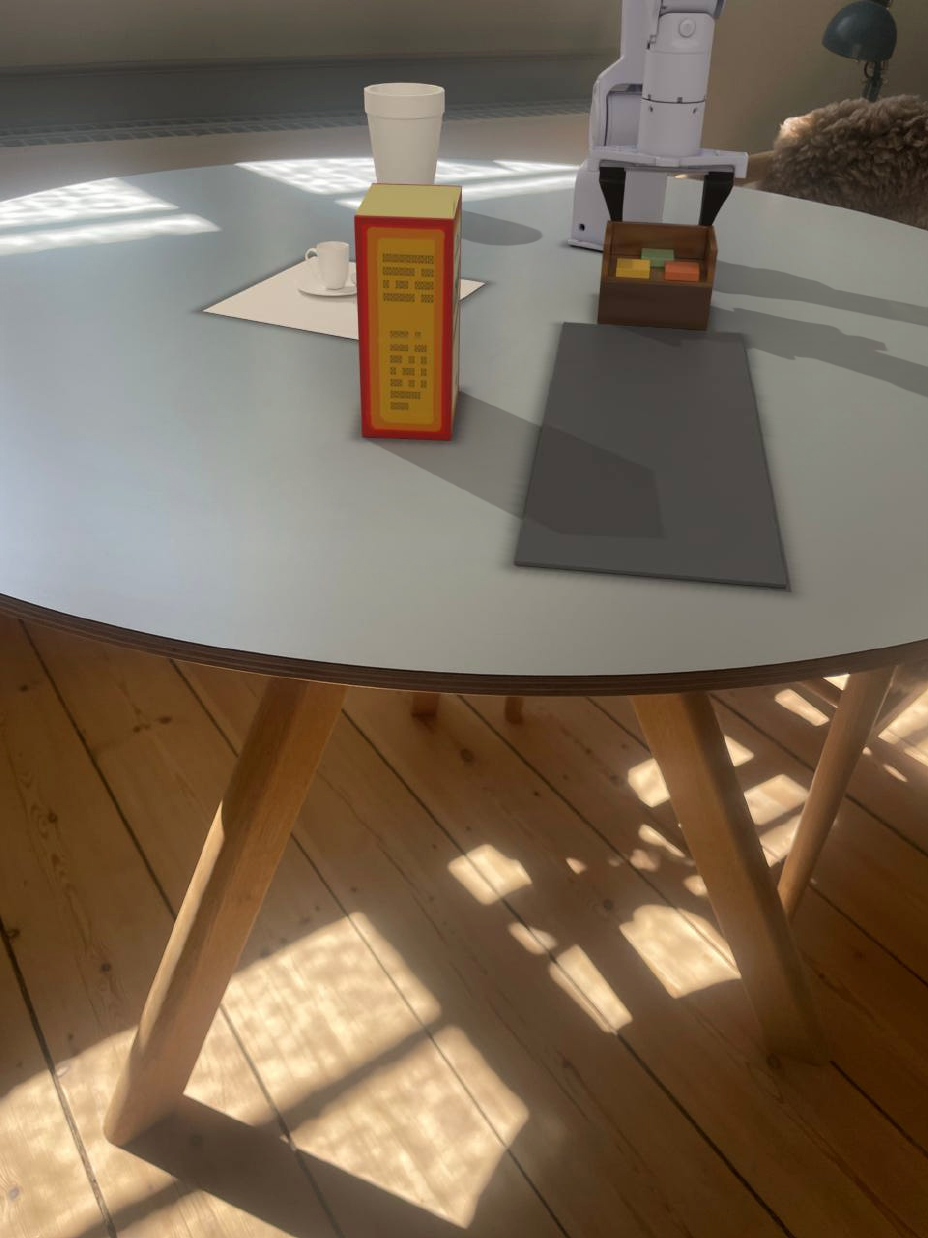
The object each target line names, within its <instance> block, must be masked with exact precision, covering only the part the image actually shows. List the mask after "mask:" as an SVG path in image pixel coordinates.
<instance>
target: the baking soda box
mask: <svg viewBox="0 0 928 1238" xmlns="http://www.w3.org/2000/svg"><path fill="white" fill-rule="evenodd" d="M462 215H463V185H451V184H450V185H449V184H448V185H447V184H446V185H445V184H434V185H419V184H388V183H377V182H372V183H371V184H370V186H369V188H368V190H367V191H366V194H365V196H364V198H363V199H362V201H361V203H360V205H359V207H358V209H357V210H356V212H355V214H354V216H353V224H354V225H353V227H354V229H353V231H354V254H355V257H354V259H355V263H356V286H357V313H358V362H359V363H358V365H359V366H358V367H359V389H360V390H359V392H360V394H359V395H360V419H361V420H360V421H361V437H362V438H381V439H382V438H383V439H405V440H406V439H408V440H409V439H410V440H431V441H433V440H434V441H452V436H453V432H454V431H453V430H454V425H455V418H456V417H455V416H456V412H457V405H458V400H459V393H460V356H461V355H460V353H461V352H460V350H461V348H460V347H461V345H460V343H461V341H460V340H461V300H460V292H461V279H462V221H463V220H462V219H463V217H462Z"/></svg>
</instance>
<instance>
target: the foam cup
mask: <svg viewBox="0 0 928 1238" xmlns="http://www.w3.org/2000/svg"><path fill="white" fill-rule="evenodd" d="M445 91H446V90H445V89H444V87H442V86H438V85H435V84H428V83H427V84H426V83H419V82H387V83H378V84H372V85H368V86H365V87H364V88H363V95H364V112H365V114H366V115H367V116H366V117H367V122H368V124H367V125H368V129H369V136H370V137H369V138H370V144H371V150H372V157H373V163H374V171H375V177H376V178H375V179H376V183H388V184H419V185H435V180H436V173H437V166H438V165H437V164H438V156H439V148H440V140H441V139H440V138H441V131H442V123H443V115H444V113H445V110H446V109H445V105H446V102H445V101H446V100H445V99H446V98H445V95H446V94H445Z"/></svg>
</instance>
